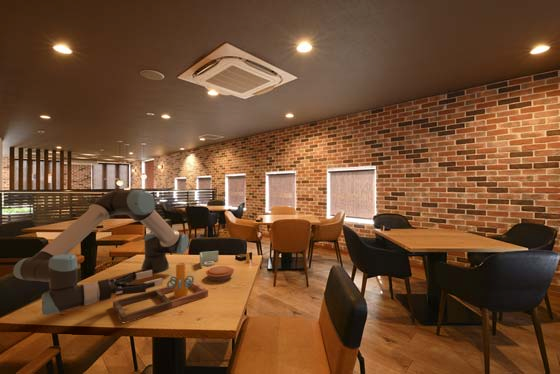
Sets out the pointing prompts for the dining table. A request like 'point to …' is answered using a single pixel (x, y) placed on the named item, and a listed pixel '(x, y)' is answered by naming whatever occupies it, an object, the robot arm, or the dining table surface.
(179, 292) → the orange post with rings
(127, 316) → the rail frame
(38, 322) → the dining table surface
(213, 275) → the pie
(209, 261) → the right angle wall
